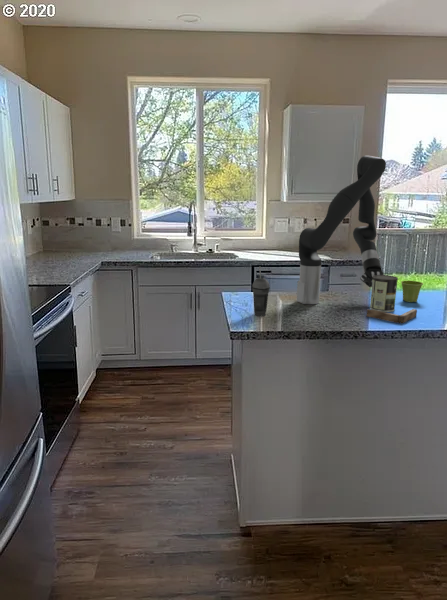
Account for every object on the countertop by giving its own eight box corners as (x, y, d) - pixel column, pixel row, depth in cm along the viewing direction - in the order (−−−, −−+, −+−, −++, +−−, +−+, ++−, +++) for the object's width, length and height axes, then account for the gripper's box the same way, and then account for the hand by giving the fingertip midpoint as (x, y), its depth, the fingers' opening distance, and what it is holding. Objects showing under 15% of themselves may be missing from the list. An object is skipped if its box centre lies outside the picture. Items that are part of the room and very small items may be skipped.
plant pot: (418, 304, 205) (421, 285, 202) (397, 301, 209) (399, 283, 207) (422, 300, 212) (424, 282, 210) (401, 297, 217) (403, 279, 215)
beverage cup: (257, 318, 181) (258, 269, 176) (247, 313, 188) (249, 265, 182) (272, 316, 185) (274, 267, 180) (262, 311, 191) (264, 264, 186)
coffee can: (392, 306, 200) (395, 275, 197) (396, 313, 191) (399, 280, 187) (368, 305, 202) (371, 274, 199) (370, 311, 193) (373, 278, 189)
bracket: (365, 315, 187) (366, 308, 186) (415, 315, 187) (415, 308, 187) (374, 323, 176) (375, 316, 175) (427, 323, 177) (428, 316, 176)
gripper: (359, 257, 206) (366, 289, 197) (387, 257, 206) (396, 289, 197) (354, 266, 212) (361, 298, 203) (382, 266, 213) (390, 298, 204)
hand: (378, 294), depth 200 cm, fingers closed
